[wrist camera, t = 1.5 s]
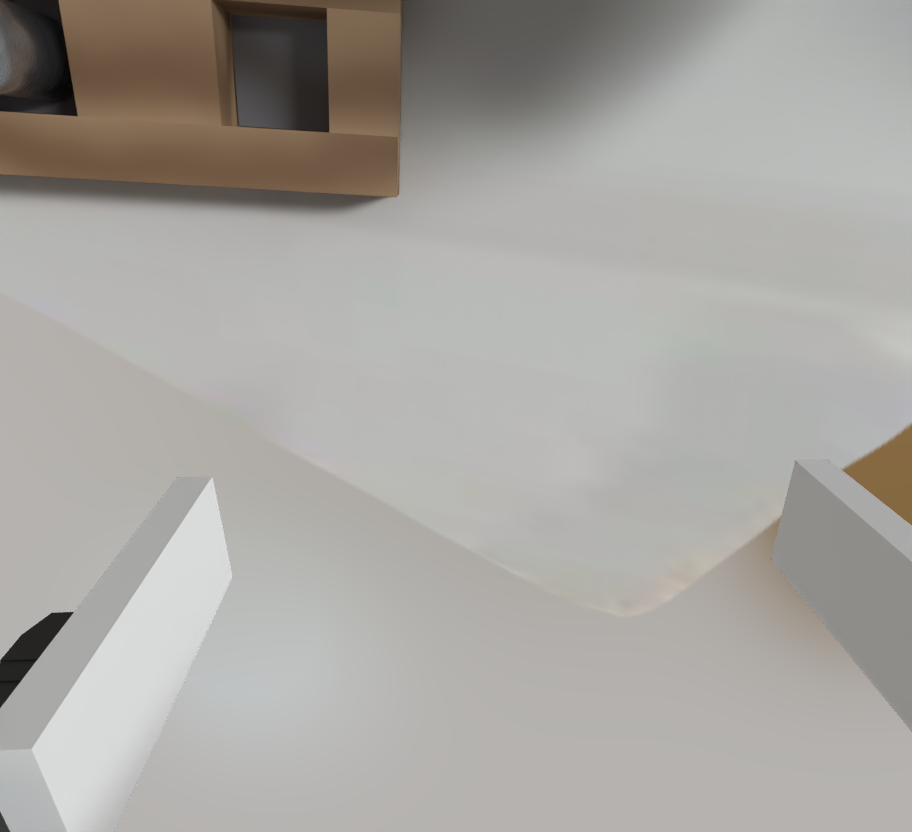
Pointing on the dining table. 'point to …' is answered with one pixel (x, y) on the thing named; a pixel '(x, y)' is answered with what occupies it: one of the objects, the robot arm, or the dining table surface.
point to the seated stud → (32, 55)
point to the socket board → (219, 96)
